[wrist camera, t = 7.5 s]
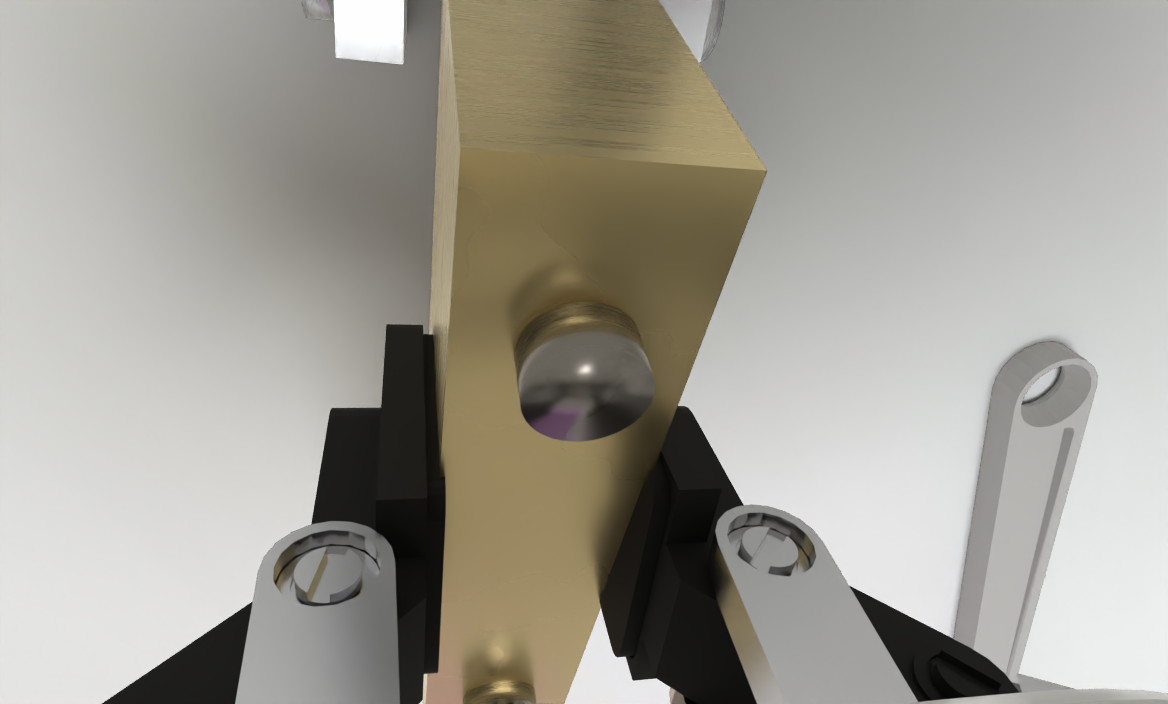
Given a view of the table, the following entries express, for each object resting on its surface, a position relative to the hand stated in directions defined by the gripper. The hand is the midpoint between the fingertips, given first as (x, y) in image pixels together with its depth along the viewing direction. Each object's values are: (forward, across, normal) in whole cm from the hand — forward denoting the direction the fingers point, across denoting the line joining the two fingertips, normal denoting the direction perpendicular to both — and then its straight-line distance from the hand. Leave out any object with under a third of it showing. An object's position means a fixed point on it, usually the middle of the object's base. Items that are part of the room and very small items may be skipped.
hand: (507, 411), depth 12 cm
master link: (+2, 0, 0) cm, 2 cm away
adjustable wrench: (+7, -21, +14) cm, 26 cm away
